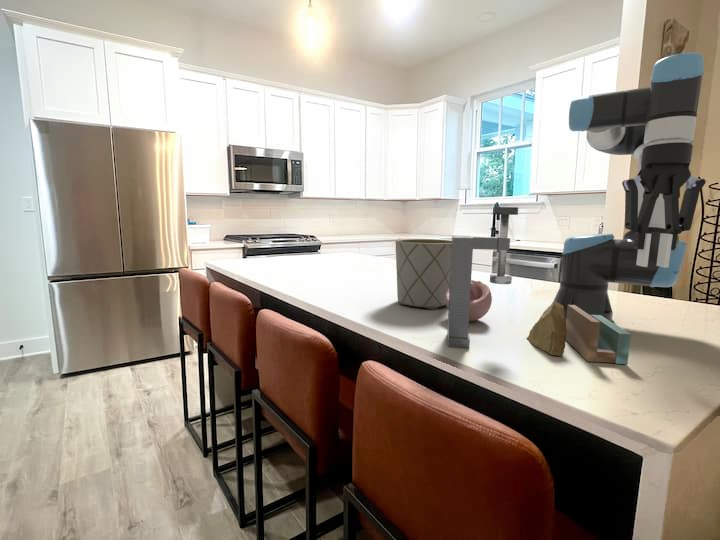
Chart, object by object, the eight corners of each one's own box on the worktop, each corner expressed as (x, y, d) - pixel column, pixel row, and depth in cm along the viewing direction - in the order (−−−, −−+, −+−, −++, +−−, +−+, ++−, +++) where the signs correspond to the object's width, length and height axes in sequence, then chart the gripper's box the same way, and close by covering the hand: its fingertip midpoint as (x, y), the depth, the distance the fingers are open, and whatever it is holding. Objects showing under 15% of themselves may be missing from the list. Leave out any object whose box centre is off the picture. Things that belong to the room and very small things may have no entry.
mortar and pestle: (435, 320, 103) (437, 278, 101) (457, 312, 111) (459, 273, 110) (477, 329, 94) (480, 284, 93) (497, 320, 103) (500, 278, 101)
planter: (441, 314, 109) (444, 244, 106) (383, 305, 119) (384, 241, 116) (463, 301, 124) (466, 240, 122) (410, 294, 135) (411, 238, 132)
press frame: (497, 337, 89) (504, 236, 85) (504, 351, 80) (512, 239, 76) (447, 334, 91) (451, 235, 87) (448, 346, 82) (453, 237, 79)
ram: (510, 280, 84) (515, 207, 82) (514, 285, 79) (520, 207, 77) (486, 279, 85) (491, 207, 83) (489, 283, 80) (494, 207, 78)
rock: (579, 350, 74) (582, 331, 82) (552, 314, 75) (558, 298, 83) (530, 370, 81) (537, 350, 89) (505, 336, 82) (515, 319, 90)
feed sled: (597, 340, 87) (601, 306, 86) (627, 364, 73) (632, 324, 72) (564, 338, 88) (567, 304, 87) (587, 361, 75) (591, 321, 73)
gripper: (702, 146, 75) (686, 265, 78) (612, 148, 78) (599, 262, 81) (731, 139, 67) (711, 270, 71) (630, 141, 71) (615, 267, 74)
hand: (651, 266), depth 76 cm, fingers open, 3 cm apart
